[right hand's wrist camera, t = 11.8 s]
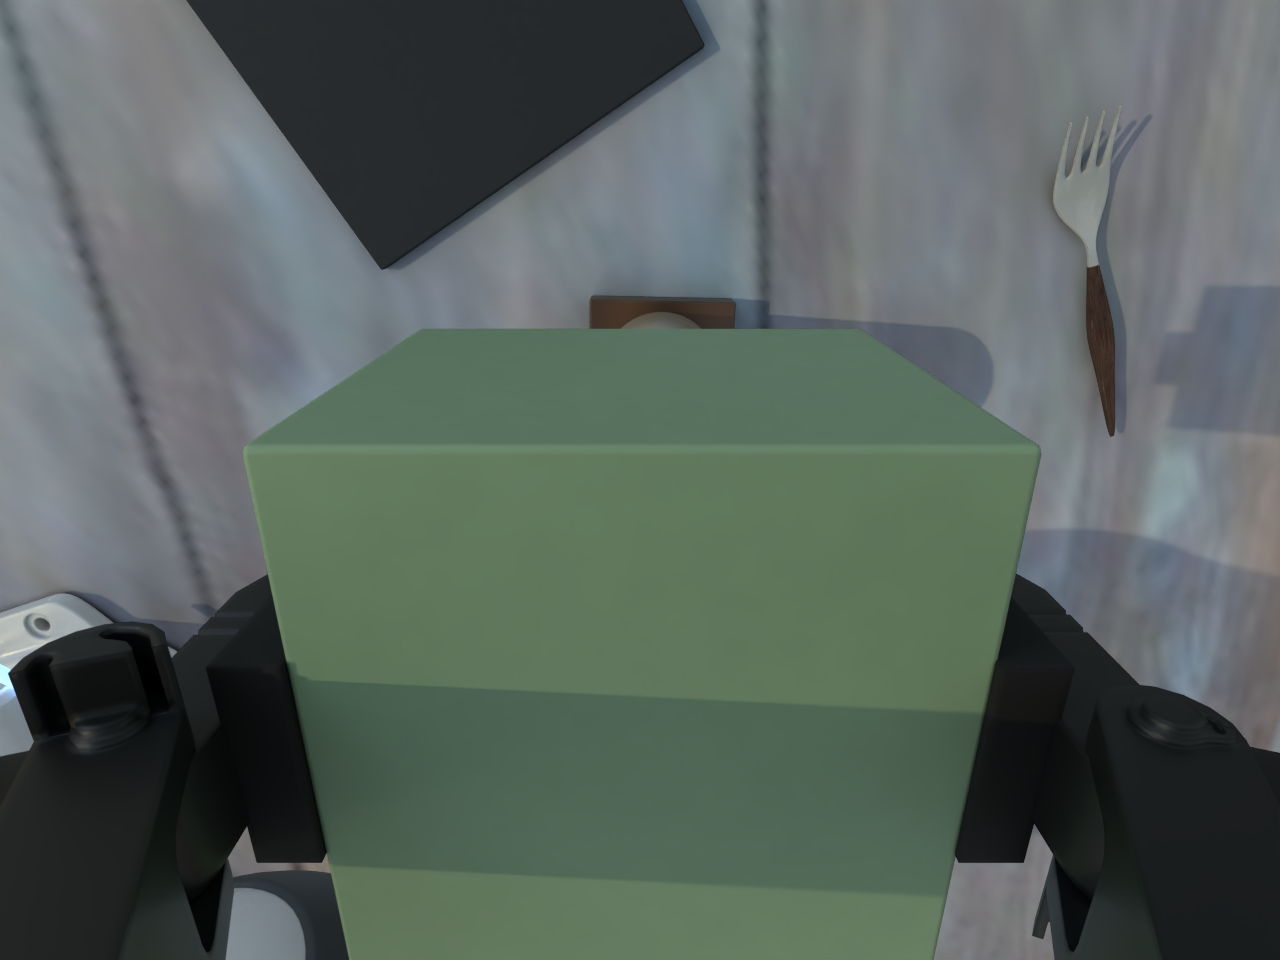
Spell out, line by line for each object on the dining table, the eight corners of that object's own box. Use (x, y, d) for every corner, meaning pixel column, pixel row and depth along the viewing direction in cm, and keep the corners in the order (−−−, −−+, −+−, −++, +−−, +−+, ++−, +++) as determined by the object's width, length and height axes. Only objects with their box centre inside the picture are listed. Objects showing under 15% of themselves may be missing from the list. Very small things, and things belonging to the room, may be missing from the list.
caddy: (732, 298, 37) (771, 341, 26) (705, 709, 46) (726, 867, 35) (591, 295, 37) (573, 338, 26) (592, 708, 46) (579, 866, 35)
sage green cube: (862, 328, 12) (1047, 446, 7) (822, 693, 15) (930, 992, 9) (418, 328, 12) (237, 447, 7) (458, 693, 15) (352, 991, 9)
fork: (1081, 440, 39) (1103, 453, 38) (1042, 127, 34) (1065, 123, 32) (1130, 425, 39) (1155, 437, 37) (1100, 107, 34) (1127, 102, 32)
